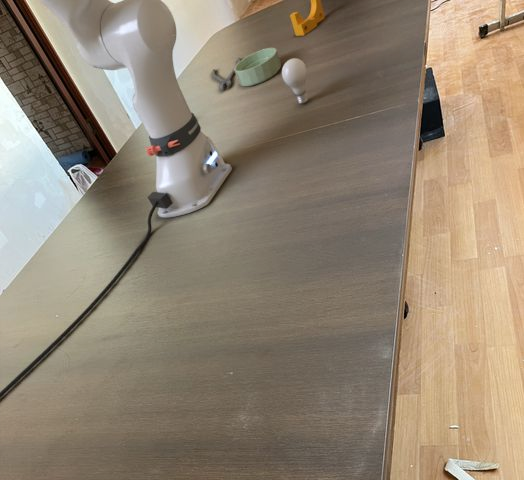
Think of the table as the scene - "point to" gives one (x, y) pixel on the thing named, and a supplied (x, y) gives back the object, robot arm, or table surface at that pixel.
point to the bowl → (258, 67)
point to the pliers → (227, 80)
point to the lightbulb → (296, 78)
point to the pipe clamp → (311, 22)
